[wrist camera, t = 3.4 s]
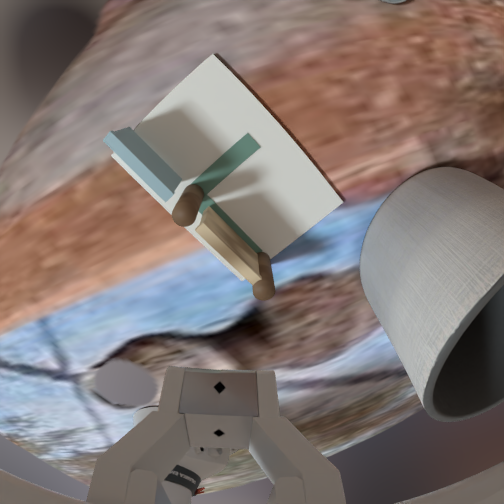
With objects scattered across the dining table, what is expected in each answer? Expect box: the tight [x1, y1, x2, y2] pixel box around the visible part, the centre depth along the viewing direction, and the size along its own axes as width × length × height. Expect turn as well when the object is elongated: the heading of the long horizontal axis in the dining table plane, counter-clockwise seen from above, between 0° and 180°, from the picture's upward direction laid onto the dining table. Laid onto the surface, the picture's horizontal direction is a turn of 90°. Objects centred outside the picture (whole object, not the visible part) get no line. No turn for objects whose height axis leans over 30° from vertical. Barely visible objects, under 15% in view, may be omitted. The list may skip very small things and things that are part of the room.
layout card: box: [111, 54, 343, 281], centre depth 33 cm, size 21×15×1 cm
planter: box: [360, 167, 504, 422], centre depth 29 cm, size 23×23×20 cm
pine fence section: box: [172, 184, 275, 300], centre depth 33 cm, size 13×2×7 cm, turn 41°
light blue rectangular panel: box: [103, 127, 182, 202], centre depth 28 cm, size 8×1×5 cm, turn 41°
